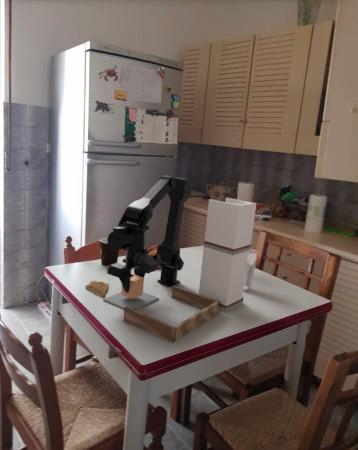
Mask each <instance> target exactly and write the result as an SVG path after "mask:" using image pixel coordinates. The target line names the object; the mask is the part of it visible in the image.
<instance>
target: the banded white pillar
mask: <svg viewBox="0 0 358 450" xmlns="http://www.w3.org/2000/svg"><path fill="white" fill-rule="evenodd" d="M224 200H225V201H221V200H216V199H212V198H211V199H208V206H207V214H206V225H205V232H204V233H205V234H204V241H203V243H204V244H203V251H202V260H201V269H200V271H201V272H200V280H199V288H198V294H200V295H202V296H205V297H208V298H211V299H214V300H217V301H220V307H219V311H222V310H223V312H225V313H226V311H227V312H229V311H231V310H233V309H234V307H235V308H236V306H237V307H239V306H240V305H242V304H244V297H243V292H244V291H243V286H244V279H245V272H246V264H247V257H248V254H250V249H251V247H252V238H253V233H254V225H255V224H254V223H255V217H256V210H257V203H256V202H251V201H245V200H240V199H236V198H231V197H225V199H224ZM232 308H233V309H232ZM230 309H231V310H230ZM228 310H229V311H228Z"/></svg>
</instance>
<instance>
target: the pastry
mask: <svg viewBox="0 0 358 450" xmlns="http://www.w3.org/2000/svg"><path fill="white" fill-rule="evenodd" d="M157 246H158V244H155V245H152V246H150V247H149V248H148V249H147V253H148V255H152V256H153V255H156V252H157ZM161 269H162V266H157V268H156V270H161Z"/></svg>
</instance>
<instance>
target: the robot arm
mask: <svg viewBox="0 0 358 450" xmlns="http://www.w3.org/2000/svg"><path fill="white" fill-rule="evenodd" d="M192 190H193V183H192V181H191V180H190V179H189V178H183V177H175V176H171V175H165V174H163V175H161V176H160V177H159V179H158V181H157V182H156V183H155V184H154V185H153V186H152V187H151V188H150V189H149V191H148V192H147V193H145V195H143V197H141V198H140V199H137V200H135V201H133V202H132V203H130V204H128V205H127V207H126V208H125V211H124V212H123V214H122V216H121V218H120V220H119V222H118V224H117V226H118V227H117V226H116V227H115V226H114V227H113V230H112V231H111V232H110V233H109V234H108V236H107V237H106V238H107V242H108V245H109V247H110V248H111V249H112V250H114V251H117V250H119V251H121V250H124V251H125V258H122V263H124V264H122V263H119V262H117V263H115V264H112V265H110V266H107V271H106V272H107V273H106V274H108V275H110V276H113V277H115V278H118V279H119V281H120V283H121V287H122V286H123V288H124V290H125V292H126V293H128V292H129V287H130V279H131V278H132V277H133V276H134V275H133V274H135V275H138V276H141V277H144V278H145V276H146V274H151V273H153V272H156V270H157V269H156V268H157V266H162V268H161V269H160V279H157V280H156V282H157V283H159V284H162V285H164V286H167V287H172V286H176V285H177V284H180V282H181V281H180V280H178V271H182V269H183V268H184V260H183V259H182V258H181V248H180V246H179V243H178V240H179V234H180V228H181V223H182V216H183V210H184V204H185V203H186V201H187V200H188V199H189V198H190V196H191V192H192ZM166 195H168V198H169V201H170V202H169V209H168V215H167V221H166V227H165V232H164V237H163V238H164V239H163V240H162V241H161V243H159V244H157V245H158V246H157V252H156V255H153V256H152V255H148V253H147V250H148V249H147V247H145V245H146V244H145V243H146V242H145V241H146V231H148V230H150V226H149V225H148V223H149V221H150V220H151V219H152V217H153V215H154V209H155V207H157V205H158V204H159V203H161V201H162V200H163V199H164V198H165V196H166ZM132 270H133V273H132Z"/></svg>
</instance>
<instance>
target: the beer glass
mask: <svg viewBox="0 0 358 450" xmlns="http://www.w3.org/2000/svg"><path fill="white" fill-rule="evenodd" d="M257 257H258V251H257V250H256V249H254V248H253V249H252V248H250V254H248V257H247V264H246V272H245V279H244V286H243V292H248V291H249V292H250V291H251V290H252V278H253V276H254V275H253V274H254V272H255V269H256V264H257Z"/></svg>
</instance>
